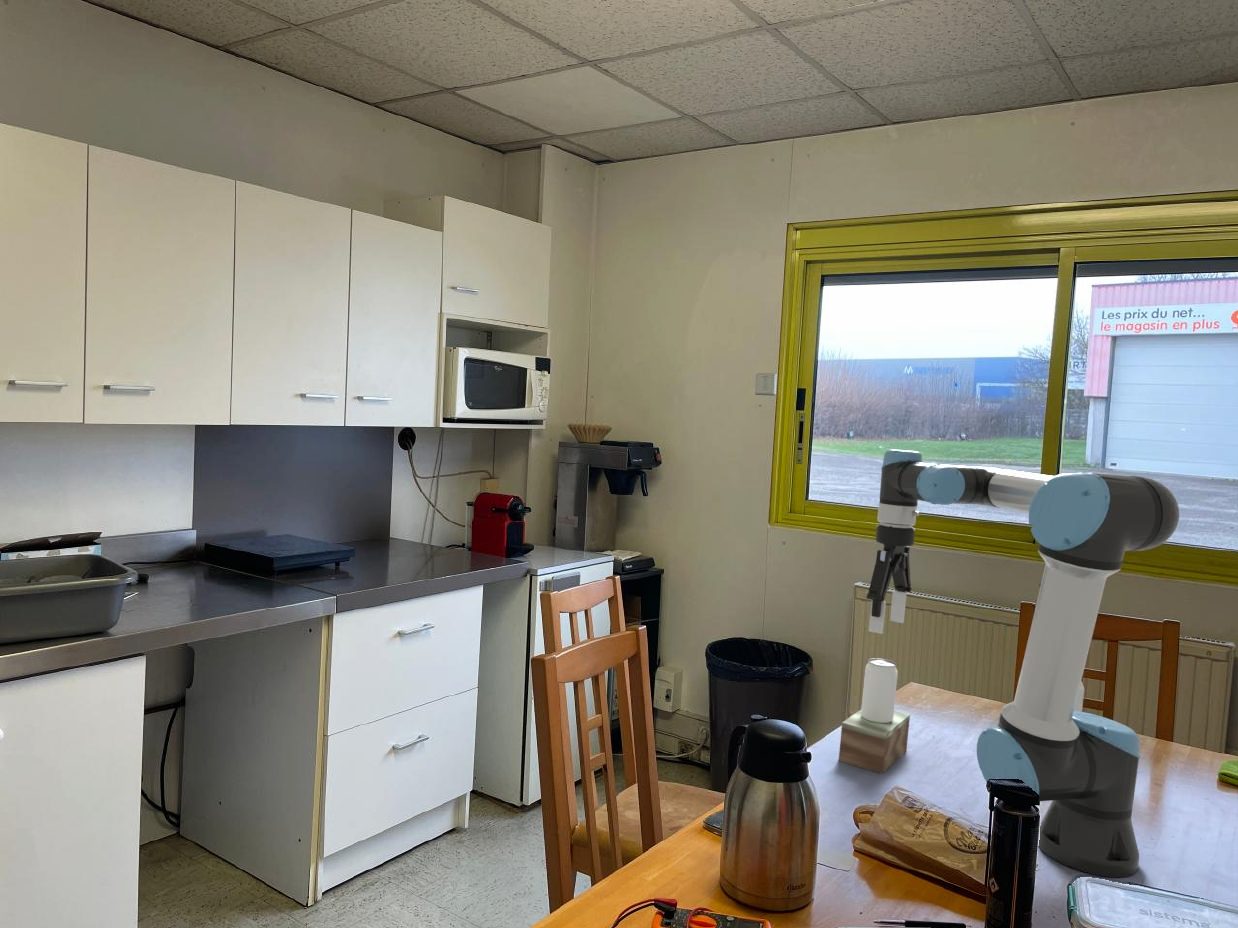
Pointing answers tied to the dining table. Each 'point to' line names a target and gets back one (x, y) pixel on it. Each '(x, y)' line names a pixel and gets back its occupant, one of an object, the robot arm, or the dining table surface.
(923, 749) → the dining table surface
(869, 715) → the can
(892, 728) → the stand
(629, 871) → the dining table surface
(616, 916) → the dining table surface
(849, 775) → the dining table surface
